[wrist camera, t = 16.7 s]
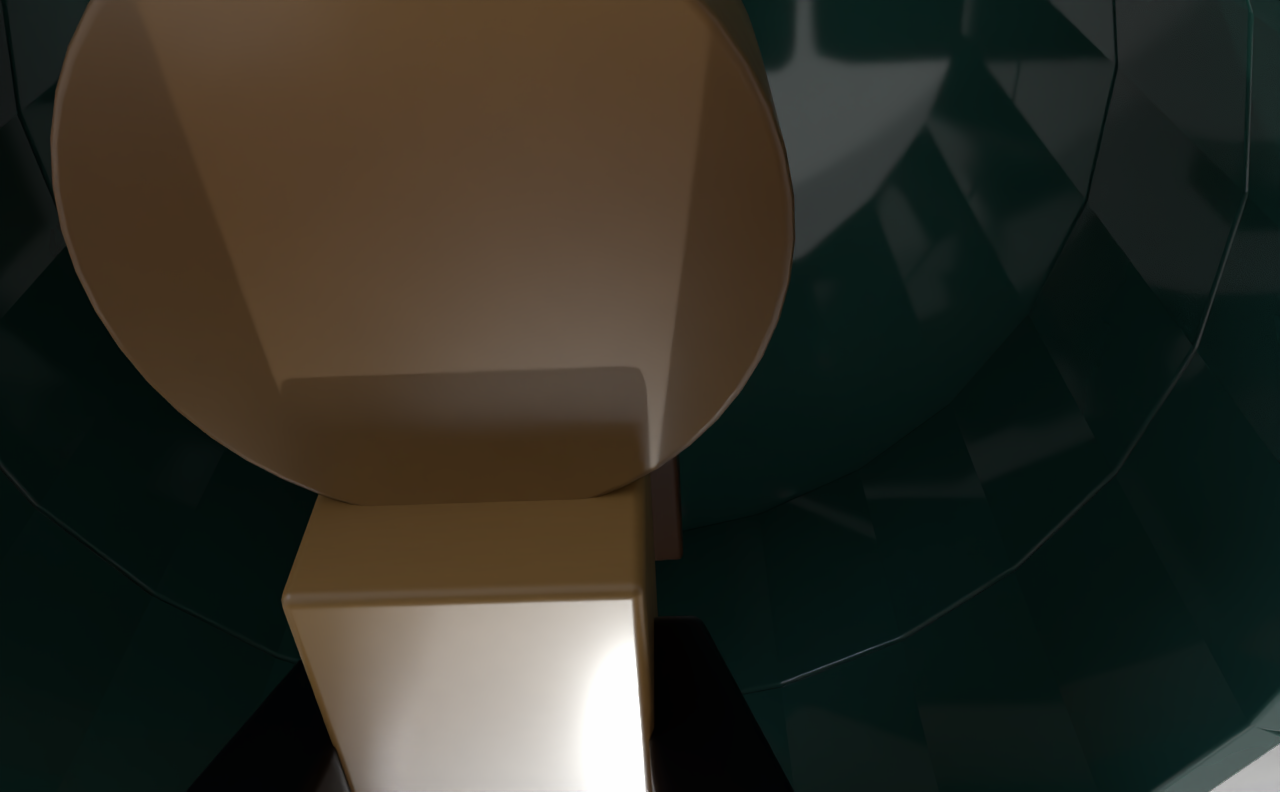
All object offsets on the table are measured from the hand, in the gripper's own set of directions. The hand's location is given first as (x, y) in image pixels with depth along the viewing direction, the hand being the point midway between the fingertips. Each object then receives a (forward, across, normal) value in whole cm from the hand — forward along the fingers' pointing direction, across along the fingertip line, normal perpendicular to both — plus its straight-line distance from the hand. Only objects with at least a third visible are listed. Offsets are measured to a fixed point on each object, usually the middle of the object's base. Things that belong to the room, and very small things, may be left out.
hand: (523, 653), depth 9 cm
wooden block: (+1, 0, -1) cm, 1 cm away
